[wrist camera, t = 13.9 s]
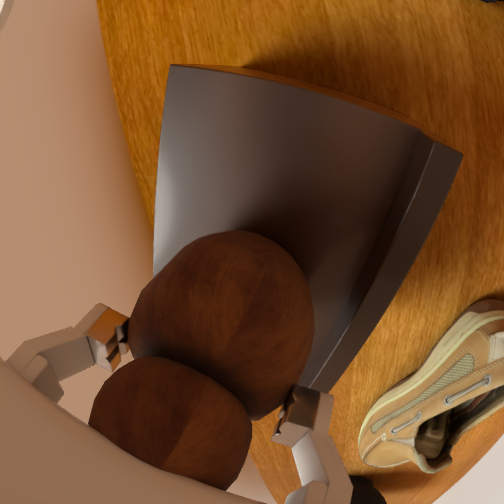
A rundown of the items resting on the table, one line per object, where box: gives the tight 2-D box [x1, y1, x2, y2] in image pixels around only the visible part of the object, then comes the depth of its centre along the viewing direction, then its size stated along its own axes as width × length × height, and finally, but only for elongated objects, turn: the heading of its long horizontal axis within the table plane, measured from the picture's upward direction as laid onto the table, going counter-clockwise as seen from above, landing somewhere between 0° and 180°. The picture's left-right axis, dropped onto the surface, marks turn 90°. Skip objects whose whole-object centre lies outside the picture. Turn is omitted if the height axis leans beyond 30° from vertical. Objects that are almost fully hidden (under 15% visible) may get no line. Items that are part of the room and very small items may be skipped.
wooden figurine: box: [88, 230, 315, 491], centre depth 10 cm, size 7×6×15 cm
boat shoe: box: [358, 299, 504, 473], centre depth 25 cm, size 10×29×11 cm, turn 174°
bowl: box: [349, 476, 387, 504], centre depth 44 cm, size 17×17×10 cm
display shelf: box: [153, 64, 463, 394], centre depth 19 cm, size 12×18×12 cm, turn 168°
